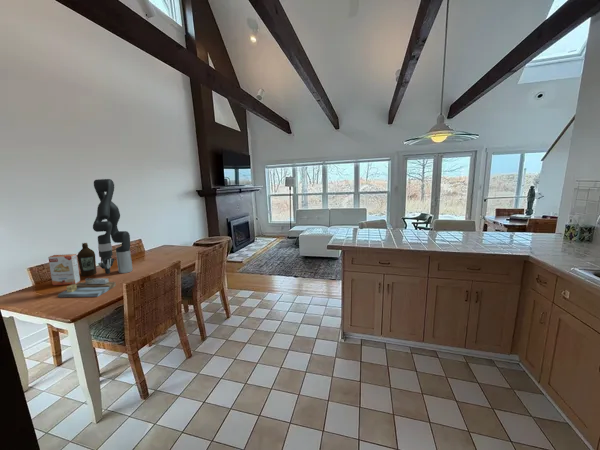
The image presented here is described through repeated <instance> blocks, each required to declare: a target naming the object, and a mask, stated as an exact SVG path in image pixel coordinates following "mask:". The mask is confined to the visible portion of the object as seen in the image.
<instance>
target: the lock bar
mask: <svg viewBox="0 0 600 450" xmlns="http://www.w3.org/2000/svg"><path fill="white" fill-rule="evenodd" d="M109 280H110V279H109V277H107V278H106V277H105V278H104V277H103V278H102V277H100V278H94V277H92V278H90V277H86V278H85V280H84V281H85V282H86V284H107V283H108V282H110V281H109Z"/></svg>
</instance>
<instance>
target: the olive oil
mask: <svg viewBox="0 0 600 450" xmlns="http://www.w3.org/2000/svg"><path fill="white" fill-rule="evenodd" d="M81 246H82V248H81V249H80V250H79V252H78V253H77V254H76V255H77V262H78V268H79V273H80V277H81V276H82V277H88V276H93V275H96V274H97V264H96V263H97V262H96V253H95V251H94V250H93V249H91V248H89V245H88V242H82V243H81Z"/></svg>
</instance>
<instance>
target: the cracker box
mask: <svg viewBox="0 0 600 450" xmlns="http://www.w3.org/2000/svg"><path fill="white" fill-rule="evenodd" d="M77 255H78V254H76V253H75V254H73V253H72V254H53V255H50V256H48V258H47V259H48V264H49V269H50V270H49V271H50V277H51V282H52V286H62V285H67V286H68V285H75V284H77V283H80V282H81V275H80V268H79V262H78V257H77Z"/></svg>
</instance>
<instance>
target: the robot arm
mask: <svg viewBox="0 0 600 450" xmlns="http://www.w3.org/2000/svg"><path fill="white" fill-rule="evenodd" d="M93 188H94V191H95V193H96V195H97V197H98V199H99V201H100V202H99V204H98V205H97V210H96V211H97V212H96V217H95V220H94V222H93V225H92V229H93V231H94V232H97V233H98V232H99V233H100V232H102V233H103V232H105V233H103V234H100V235H98V236H97V248H98V256H99V258H100V262H98V263H97V264H98V266H99V267H100V268H101V269H102V270H103V269H104V271H105V275H108V274H111V267H113V264H114V262H115V258H112V256H113V247H112V242H113V243H114V244H115V243H117V244H121V246H118V247H116V249H115V252H116V253H115V255H116V262H117V263H116V264H117V271H118V273H119V274H126V273H130V272H132V271H133V261H132V260H133V259H132V254H131V235H130V233H129V232H128V231H126V230H122V231H119V228H118V224H119V221H120V218H121V213H120V210H119V206H118V205H116V204H115V202H113V201H112V199H113V195H114V191H115V183H114V181H113V180H112V179H110V178H102V179H95V180H94V181H93ZM111 240H112V241H111Z"/></svg>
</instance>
